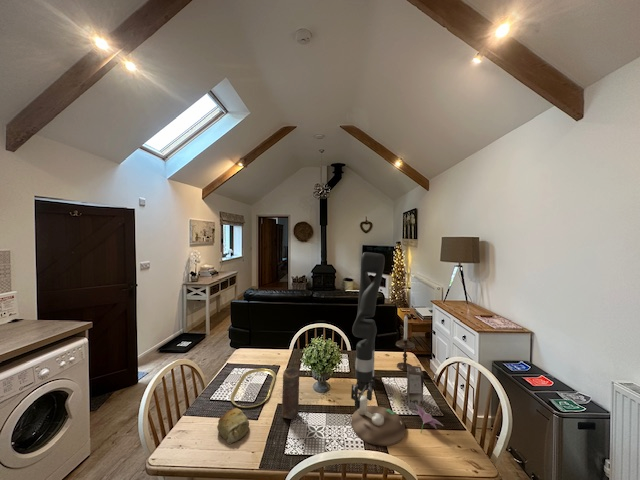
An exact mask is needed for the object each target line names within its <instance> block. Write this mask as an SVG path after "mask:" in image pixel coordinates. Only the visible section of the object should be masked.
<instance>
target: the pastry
mask: <svg viewBox="0 0 640 480" xmlns="http://www.w3.org/2000/svg"><path fill="white" fill-rule="evenodd" d="M249 426H250V421H249V418H248V417H247V416H246V414H244V412H243V411H242V410H241V409H240V408H238V407H234V408H232V409H229V410H226V412H225V413H224V414H222V415H221V417H220V418H219V419H218V424H217V426H216V428H217V431H218V432H219V433H220V434H219V435H220V436H221V438H222V439H223V440H225V441H226V443H227V444H233V443H236V442H238V441H239V440H240V439H242V438H244V437H245V436H246V435H247V433H248V430H249Z"/></svg>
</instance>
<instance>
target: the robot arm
mask: <svg viewBox="0 0 640 480" xmlns="http://www.w3.org/2000/svg"><path fill="white" fill-rule="evenodd" d="M385 262H386V259H385V255H384V254H383V253H376V252H368V251H365V252H363V253H362V255H361V259H360V279H359V289H358V299H357V302H358V303H357V314H356V318H355V320H354V322H353V325H352V329H351V332H352V335H353V336H354V337H355V338H359V339H362V340H358V342H357V343H356V346H355V349H356V350H355V363H354V365H355V366H354V367H355V370H354V372H355V373H354V375H355V379H356V384H352V385H351V391H350V392H351V396H350V399H351V400H353V401H354V407H355V408H356V409H357V410H358V409H359V408H360V398H361V396H362V395H363V396H364V392H366V397H367V401H370V402H371V401H372V398H373V392H374V390H375V389H376V376H375V354H376V353H375V349H376V348H375V346H376V343H375V342H376V336H377V333H378V328H377V325H376V321H375V320H374V319H372V318H373V317H375V315H376V308H377V307H376V306H377V300H378V294H379V290H380V286H381V282H382V279H383V275H384V269H385ZM369 272H370V273H375V276H374V279H373V280H372V281H371V278H370V276H369ZM359 391H360V392H359Z"/></svg>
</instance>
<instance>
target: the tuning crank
mask: <svg viewBox="0 0 640 480" xmlns="http://www.w3.org/2000/svg"><path fill="white" fill-rule="evenodd" d="M367 406H368V399H367V395H364V394H363V395H362V396H361V398H360V408H359V409H357V410H358V413H359V414H360V415H366V416H367V417H369V418H371V419H372V423H373V424H374V425H377V426H381V425H383V424H384V417H383V415H381V414H379V413H374V414H371V413H369V412H368V411H367Z"/></svg>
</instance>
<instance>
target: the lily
mask: <svg viewBox="0 0 640 480" xmlns="http://www.w3.org/2000/svg"><path fill="white" fill-rule="evenodd" d="M415 405H416V404H415ZM416 407H417V408H418V409H417V410H416V409H412V411H413V412H414V413H415V414H417V415H419V416H420V419H421V420H422V426H421V430H420V434H422V432H423V428H424V426H425V425H424V424H430V425H431V426H432V427H433V428H434V429H435V430H438V428H437V425H440V426H442V427H444V425H443V424H442V423H441V422H440V421H439V420H437V419H435V418H434V417H433V416H432V415H431V414H430V413H427V412H425V410H424V409H422V408H420V407H419V406H418V405H416ZM436 424H437V425H436Z"/></svg>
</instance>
